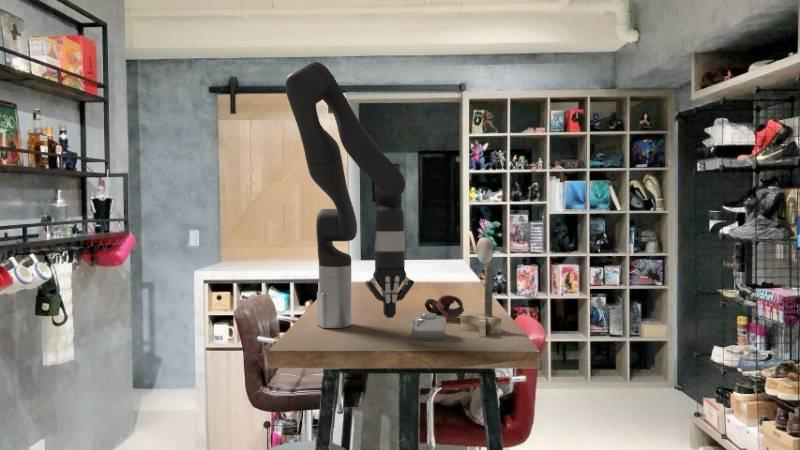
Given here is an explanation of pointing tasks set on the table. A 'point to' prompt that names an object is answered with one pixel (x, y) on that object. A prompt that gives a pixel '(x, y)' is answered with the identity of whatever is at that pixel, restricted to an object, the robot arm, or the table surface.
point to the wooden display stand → (485, 321)
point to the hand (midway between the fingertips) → (389, 317)
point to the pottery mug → (445, 306)
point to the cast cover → (428, 327)
